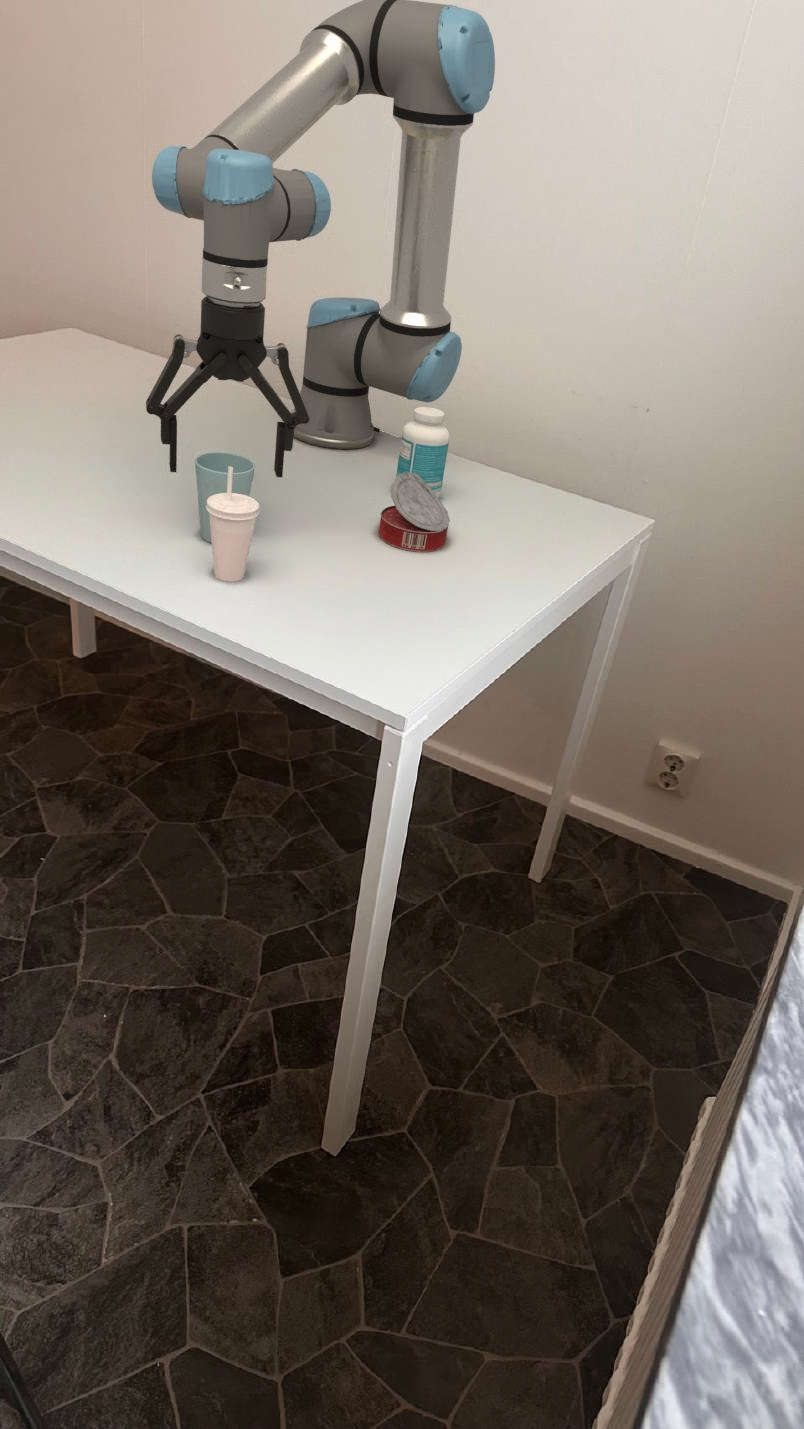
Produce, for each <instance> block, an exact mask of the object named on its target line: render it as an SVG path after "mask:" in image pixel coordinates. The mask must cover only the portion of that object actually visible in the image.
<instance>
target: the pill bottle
mask: <svg viewBox="0 0 804 1429" xmlns="http://www.w3.org/2000/svg"><path fill="white" fill-rule="evenodd" d="M444 420H445V412H444V411H442V410H441V409H438V408H435V407H428V406H418V407H416V408H414V411H413V420H412V421H409V422H407V423H406V424H405V425H404V426H403V427H402V430H401V431H402V432H401V439H400V446H399V452H398V461H397V468H396V474H395V478H396V477H397V475H399V474H401V473H404V472H406V471H407V472H409V473H416V474H417V475H418V476H420V477H421V478H422V479H423V480H424V481H425V483H426V484H427V485H428V486H429V487H430V488H431V489H432V490H433V492H434V493H435V494H436V496H437V497H438V498H439V499H440V497H441V492H442V487H443V480H444V475H445V469H446V462H447V457H448V451H449V443H450V438H451V436H450V432H449V430H448V429H447V428H446V427H445V426H444V425H442V424H443V423H444V422H445V421H444Z"/></svg>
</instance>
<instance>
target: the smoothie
mask: <svg viewBox="0 0 804 1429" xmlns="http://www.w3.org/2000/svg"><path fill="white" fill-rule="evenodd" d="M232 476H233V467H228V481H227V493H220V494H215V495H212V496H210V497H209V498H208V499H207V506H206V509H207V511H208V512H209V518H210V530H211V542H212V543H211V551H212V554H211V555H212V564H213V565H212V566H213V576H214V577H215V578H216V579H218V580H220V581H222V582H223V581H224V582H229V583H230V582H231V583H234V582H239V581H242V580H243V579H244V578H245V573H246V569H247V564H248V558H249V554H250V548H251V543H252V538H253V534H254V529H255V524H256V519H257V517H258V516H259V515H260V503H259V502H258V501H257V499H255V498H253V497H251V496H246V495H242V494H236V493H232Z"/></svg>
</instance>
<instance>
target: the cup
mask: <svg viewBox="0 0 804 1429" xmlns="http://www.w3.org/2000/svg"><path fill="white" fill-rule="evenodd" d="M194 466H195V477H196V487H197V488H196V490H197V491H196V492H197V500H198V501H197V502H198V503H197V504H198V517H199V528H200V530H199V531H200V536H201V538H202V539H203V540H204V541H206V542H208V543H211V544H212V542H211V530H210V518H209V512H208V511H207V509H206V506H207V499H208V498H209V497H210V496H212V495H215V494H220V493H227V481H228V467H233V476H232V493H236V494H242V495H246V496H249V497H251V496H250V494H251V490H252V483H253V481H254V475H255V470H256V469H255V468H256V464H255V462H254V461H253V460H251V459H250V458H247V457H245V456H242V455H239V454H236V453H229V452H217V451H215V452H207V453H203V454H200V455H198V456H196V457H195V459H194Z"/></svg>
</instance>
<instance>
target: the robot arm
mask: <svg viewBox="0 0 804 1429" xmlns="http://www.w3.org/2000/svg"><path fill="white" fill-rule="evenodd" d="M493 39H494V38H493V35H492V32H491V31H490V26H489V24H488V22H487V21H486V19H485V18H484V16H482V15H481V13H479V12H477V11H474V10H471V9H468V8H464V7H460V6H457V5H453V4H444V3H435V2H428V1H419V0H360V1H358V2H355V3H353V4H351V5H348V6H347V7H344V8H342V9H340V10H339V11H337V12H336V13H334V14H332V15H330V16H329V17H328V18H326V19H324V20H323V21H322V22H320V23H319V24H318V25H317V26H316V27H314V28H313V29H312V30H311V31H310V32H309V33H308V34H306V36H304V38H303V40H302V42H301V44H300V47H299V52H298V54H297V55H295V57H293V58H292V59H291V60H290V61H288V62H287V63H286V65H284V66H283V67H282V68H280V70H279V71H278V72H276V73H275V74H274V75H273V76H272V77H270V79H269V80H268V81H266V82H265V83H264V84H263V85H261V87H259V89H257V90H256V91H255V92H254V93H253V94H252V95H251V96H249V98H247V99H246V100H245V101H244V102H243V103H242V104H241V105H240V106H238V107H237V108H236V109H235V110H233V111H232V112H231V113H230V115H228V116H227V117H226V118H225V119H224V120H222V122H220V124H218V125H217V126H216V127H215V128H213V130H211V131H210V132H209V133H208V134H207V135H206V136H205V137H203V138H202V140H200V141H199V142H198V143H197V144H196V145H194V147H191V148H187V147H186V146H185V145H179V146H175V145H170V146H166V147H164V148H163V149H162V150H160V151H159V153H158V154H157V155H156V157H155V160H154V163H153V166H152V171H151V185H152V188H153V189H152V190H153V191H154V192H153V194H154V195H155V198H156V201H158V203H159V205H160V206H161V207H163V208H164V210H165V209H166V210H167V211H169V212H172V213H176V214H178V215H182V216H183V217H186V218H187V219H195V220H199V221H203V248H202V261H201V293H202V294H203V295H205V296H204V297H203V298H202V299H201V301H200V333H199V337H198V338H197V340H194V339H191V338H190V339H189V338H187V337H186V338H184V336H183V335H181V334H180V333H179V334H175V335H174V337H173V342H172V343H173V344H172V350H171V354H170V356H169V357H168V359H167V361H166V362H165V365H164V367H163V369H162V370H161V372H160V374H159V376H158V378H157V380H156V382H155V384H154V386H153V387H152V390H151V391H150V393H149V394H148V397H147V398H146V401H145V410H146V413H148V414H149V415H154V416H156V417H158V418H159V419H160V441H161V443H162V445H169V463H168V464H169V471H170V473H177V466H178V465H177V463H178V462H177V459H178V457H177V455H178V453H177V452H178V419H177V415H176V413H177V412H179V410H181V408H182V407H183V406H184V405H185V404H186V403H187V402H188V401H189V400H190V399H191V398H192V397H193V396H194V394H196V392H197V391H198V390H199V389H200V388H201V387H202V386H203V385H205V384H206V383H207V382H208V381H209V380H210V379H211V378H212V377H214V378H215V379H217V380H218V381H229V380H232V381H235V382H240V383H244V381H246V380H249V379H251V381H252V382H253V384H254V385H255V386H256V387H257V388H258V390H259V391H260V392H261V393H262V395H263V396H264V397H265V399H266V401H268V403H269V404H270V406H271V407H272V408H273V410H274V411H275V413H276V414H277V415H278V417H279V418H280V419H281V421H277V422H276V437H275V450H274V464H273V471H274V474H275V476H276V478H283V475H284V474H283V473H284V462H285V460H284V459H285V452H292V450H293V447H294V438H295V439H297V440H299V441H300V442H304V443H307V444H309V445H313V446H318V447H323V448H328V449H337V450H351V449H352V450H353V449H354V450H355V449H361V448H365V447H367V446H370V445H371V444H372V443H373V440H374V433H375V432H376V433H380V432H381V429H380V428H378V427H377V426H374V423H373V422H372V413H371V406H370V400H369V391H370V388H374V389H377V390H380V391H383V392H387V393H389V394H393V395H396V396H399V397H402V398H406V399H407V400H409V401H412V400H413V401H414V400H415V401H419V402H423V403H432V402H435V401H437V400H438V399H440V398H441V396H443V395H444V394H445V393H446V391H447V390H448V388H449V386H450V385H451V383H452V382H453V379H454V377H455V375H456V372H457V370H458V367H459V364H460V360H461V356H462V350H463V343H462V339H461V337H460V335H458V334H457V333H456V332H455V331H451V325H452V324H451V323H452V314H451V313H450V311H449V310H448V309H447V308H446V306H445V305H444V303H445V294H446V283H447V276H448V275H447V274H448V273H447V272H448V264H449V255H450V244H451V243H450V242H451V236H452V225H453V216H454V207H455V198H456V190H457V189H456V188H457V180H458V169H459V160H460V151H461V150H460V149H461V139H462V137H463V135H464V134H465V133H467V131H469V129H470V128H471V127H472V126H473V125H474V118H475V114H477V113H479V112H482V111H483V110H484V109H485V108H486V106H487V105H488V102H489V100H490V98H491V96H490V93H491V91H493V87H494V83H495V82H494V81H495V74H496V73H495V71H496V55H495V44H494V40H493ZM360 95H378V96H382V97H387V98H391V99H393V101H392V102H393V103H392V104H393V105H392V118H393V119H394V121H395V122H396V123H397V125H398V126H399V127H400V130H401V142H400V156H399V170H398V186H397V197H396V199H397V200H396V212H395V213H396V214H395V226H394V238H393V239H394V240H393V241H394V242H393V253H392V255H393V256H392V266H391V267H392V269H391V282H390V297H389V301H387V302H386V303H385V304H384V305H383V306H382V307H380V306H381V305H380V303H379V301H376V300H373V299H369V298H361V297H325V298H320V299H317V300H315V301H314V302H313V303H311V305H310V308H309V314H308V319H307V324H306V336H305V337H306V339H305V348H304V349H305V350H304V363H303V374H302V383H301V384H302V385H301V389H300V390H299V388H298V385H297V383H296V381H295V378H294V376H293V373H292V370H291V368H290V357H289V350H288V348H287V346H286V345H285V343H283V342H279V343H278V344H276V345H268V346H266V345H265V342H264V334H265V333H264V332H265V317H266V306H264V304H263V301H265V300H266V298H267V278H268V263H269V262H268V261H269V250H270V249H269V247H270V243H276V242H277V243H278V242H288V241H298V242H300V241H302V240H304V241H305V239H308V238H313V237H315V236H317V235H318V234H320V233H321V232H322V231H323V230H324V229H325V228H326V226H327V224H328V222H329V220H330V217H331V213H332V211H331V210H332V202H331V195H330V192H329V189H328V188H327V185H326V183H325V182H324V181H323V179H321V178H320V177H319V175H317V174H316V173H313V172H311V171H307V170H300V169H297V168H292V169H291V170H288V169H281V168H276V167H274V163H275V162H277V161H278V160H279V159H280V158H281V156H283V155H284V154H285V153H286V152H287V151H288V150H289V149H290V148H292V146H294V144H296V142H297V141H298V140H300V139H301V138H302V136H304V135H305V134H306V133H307V132H308V131H309V130H311V128H312V127H313V126H315V124H316V123H318V121H319V120H321V118H322V117H324V115H326V114H327V113H328V112H329V111H330V110H331V109H332V108H334V106H343V105H346V104H348V103H349V102H350V101H352V100H353V99H354V98H355V97H356V96H360ZM193 352H196V353H197V355H198V356H199V357H200V359H201V362H200V363H199V364H198V365H197V366H196V368H195V369H194V371H193V372H192V373H191V374H190V375H189V376H188V377H187V378H186V380H185V381H184V382H183V383H181V385H180V386H178V388H177V389H176V390H175V391H174V393H173V394H171V396H169V398H168V399H166V401H165V402H164V403H162V402H163V400H164V398H165V396H166V394H167V392H168V390H169V389H170V387H171V385H172V383H173V381H174V380H175V378H176V376H177V373H178V372H179V370H180V368H181V366H182V365H183V361H184V359H187V358H189V357H190V356H191V354H192V353H193ZM267 357H268V358H269V359H270V360H271V363H272V364H273V365H275V366H277V367H278V370H279V372H280V375H281V378H282V379H283V382H284V385H285V387H286V390H287V393H288V394H289V397H290V399H291V402H292V404H293V406H294V409H291V412H290V410H289V409H288V408H287V406H286V404H285V403H284V402H283V400H282V399H281V397H280V396H279V395H278V393H277V392H276V391H275V389H274V388H273V386H272V385H271V384H270V383H269V381H268V380H267V378H266V377H265V376H264V375H263V373H262V371H261V370H260V369H259V367H260V366H261V364H262V363H263V362H264V361H265V360H266V358H267Z"/></svg>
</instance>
